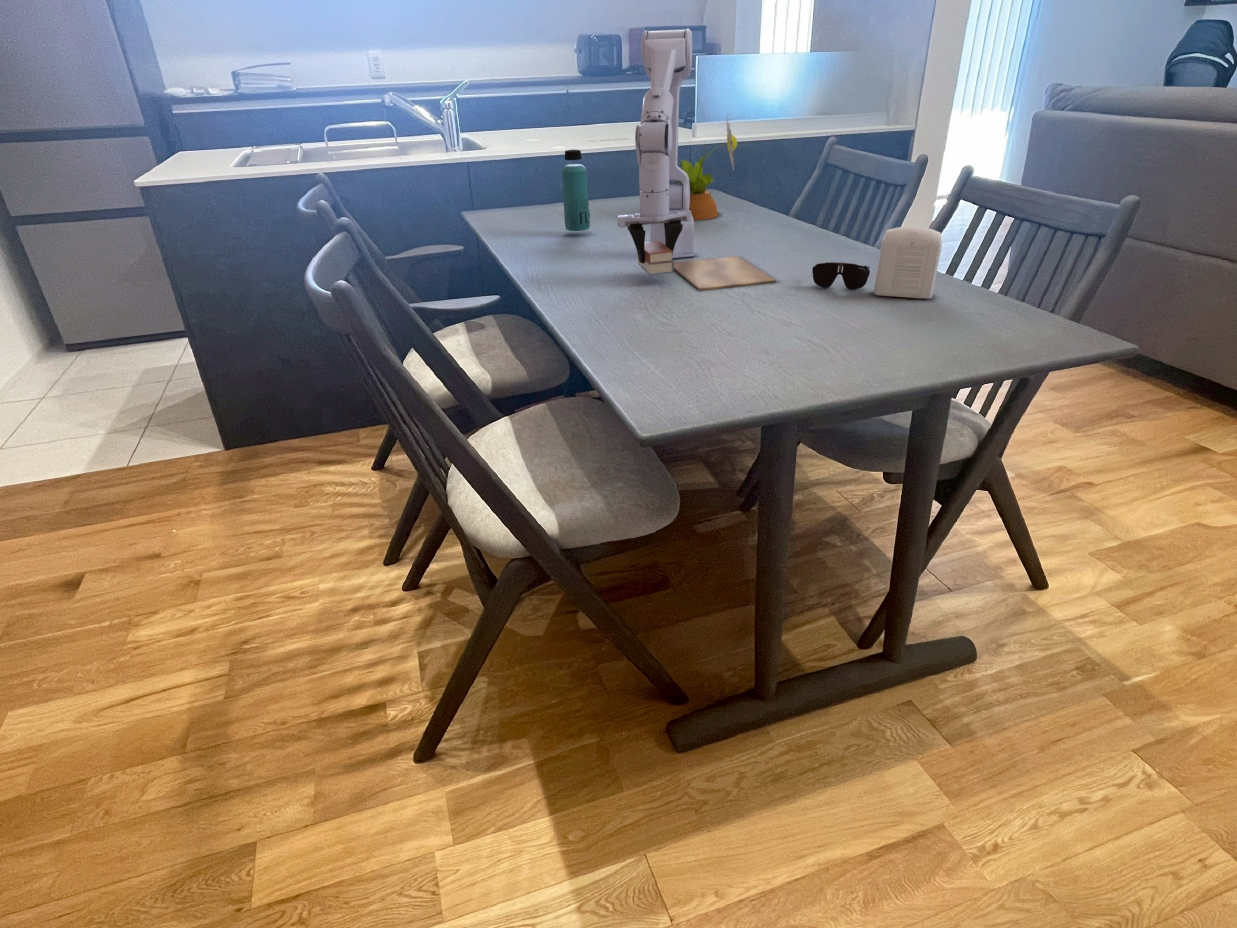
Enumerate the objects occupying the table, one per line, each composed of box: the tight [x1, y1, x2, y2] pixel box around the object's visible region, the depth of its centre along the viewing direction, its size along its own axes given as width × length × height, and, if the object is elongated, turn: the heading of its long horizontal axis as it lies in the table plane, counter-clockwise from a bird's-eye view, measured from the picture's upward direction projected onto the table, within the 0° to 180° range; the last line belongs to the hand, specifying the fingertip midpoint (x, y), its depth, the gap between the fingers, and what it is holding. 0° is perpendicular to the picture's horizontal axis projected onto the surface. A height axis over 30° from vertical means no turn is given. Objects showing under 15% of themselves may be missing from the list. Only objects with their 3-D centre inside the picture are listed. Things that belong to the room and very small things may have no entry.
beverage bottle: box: [560, 149, 591, 232], centre depth 183 cm, size 6×7×20 cm
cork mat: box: [674, 255, 777, 291], centre depth 153 cm, size 16×20×1 cm
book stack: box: [636, 241, 675, 276], centre depth 149 cm, size 5×9×4 cm, turn 14°
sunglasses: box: [811, 261, 871, 291], centre depth 145 cm, size 10×12×5 cm
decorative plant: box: [673, 114, 738, 221], centre depth 199 cm, size 27×24×25 cm
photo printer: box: [873, 225, 943, 300], centre depth 133 cm, size 10×4×12 cm, turn 72°
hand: (654, 260), depth 149 cm, fingers closed on book stack, 5 cm apart
